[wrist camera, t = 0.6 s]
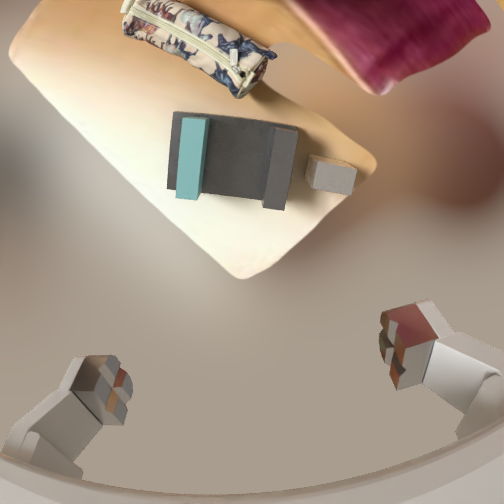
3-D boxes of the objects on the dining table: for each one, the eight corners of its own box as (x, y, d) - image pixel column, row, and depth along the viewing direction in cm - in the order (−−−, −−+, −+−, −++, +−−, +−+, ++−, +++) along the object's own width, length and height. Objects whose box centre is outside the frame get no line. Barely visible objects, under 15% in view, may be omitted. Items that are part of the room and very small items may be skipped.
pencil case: (276, 60, 39) (284, 49, 30) (242, 103, 42) (242, 103, 33) (159, -5, 32) (140, -26, 24) (128, 37, 35) (102, 25, 27)
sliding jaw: (189, 116, 40) (182, 117, 36) (210, 118, 40) (205, 119, 36) (182, 188, 45) (175, 198, 41) (201, 190, 45) (197, 200, 41)
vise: (176, 111, 42) (164, 112, 35) (294, 125, 43) (303, 129, 37) (169, 185, 47) (158, 199, 41) (281, 199, 49) (286, 214, 42)
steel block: (309, 154, 45) (317, 161, 40) (344, 161, 46) (357, 169, 41) (304, 178, 47) (312, 188, 42) (339, 184, 48) (351, 195, 42)
